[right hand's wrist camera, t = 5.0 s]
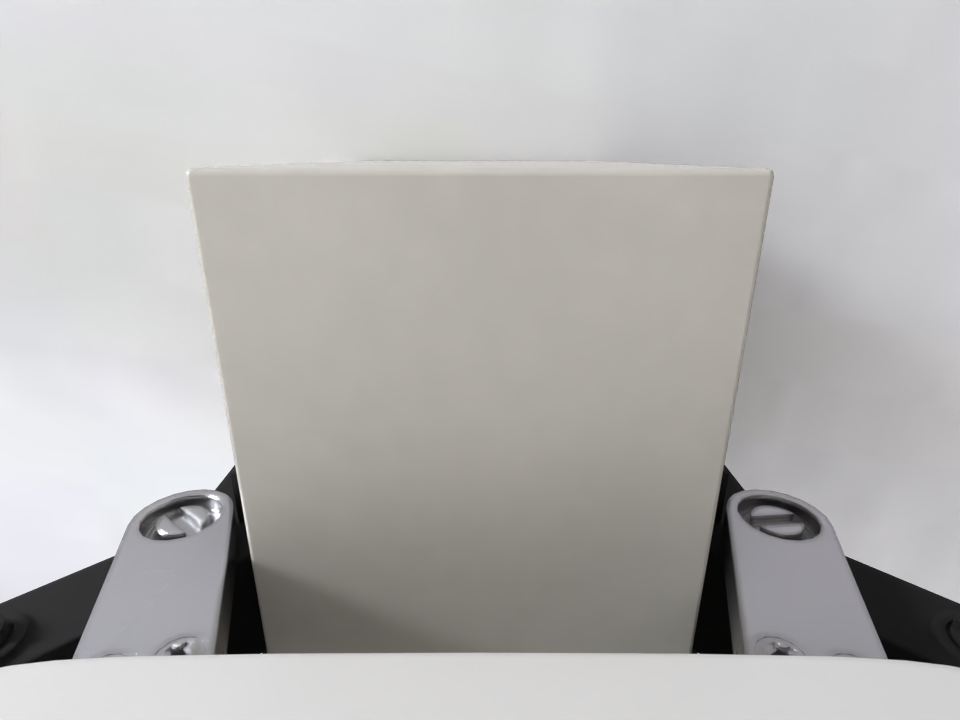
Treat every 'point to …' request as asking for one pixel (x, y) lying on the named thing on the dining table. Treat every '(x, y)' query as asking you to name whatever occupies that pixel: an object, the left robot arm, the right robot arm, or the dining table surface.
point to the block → (479, 394)
